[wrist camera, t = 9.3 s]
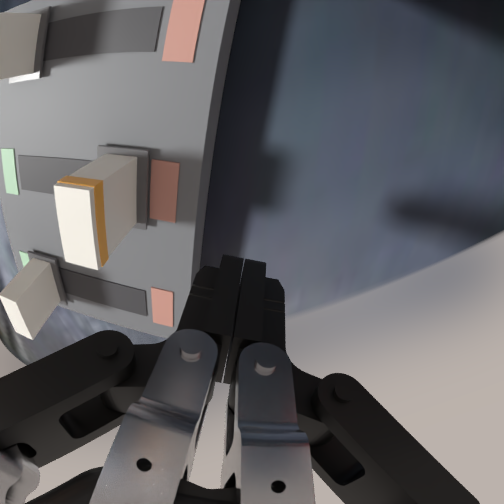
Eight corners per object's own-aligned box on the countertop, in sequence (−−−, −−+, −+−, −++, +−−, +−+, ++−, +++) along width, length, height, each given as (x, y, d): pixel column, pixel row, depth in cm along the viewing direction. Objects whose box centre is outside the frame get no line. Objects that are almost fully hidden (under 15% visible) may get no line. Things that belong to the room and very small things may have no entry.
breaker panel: (243, -12, 12) (236, -29, 9) (195, 317, 25) (187, 344, 23) (26, 13, 11) (-1, 13, 9) (41, 275, 25) (25, 293, 22)
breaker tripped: (149, 149, 14) (101, 183, 10) (147, 228, 17) (109, 279, 13) (99, 144, 14) (43, 175, 10) (102, 219, 17) (58, 265, 13)
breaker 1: (51, 6, 9) (-8, 2, 5) (41, 77, 12) (-19, 91, 8) (19, 17, 9) (-37, 20, 5) (11, 83, 12) (-45, 99, 8)
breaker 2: (56, 258, 19) (19, 300, 15) (68, 304, 22) (39, 345, 18) (28, 250, 19) (-8, 288, 15) (41, 294, 22) (13, 332, 17)
